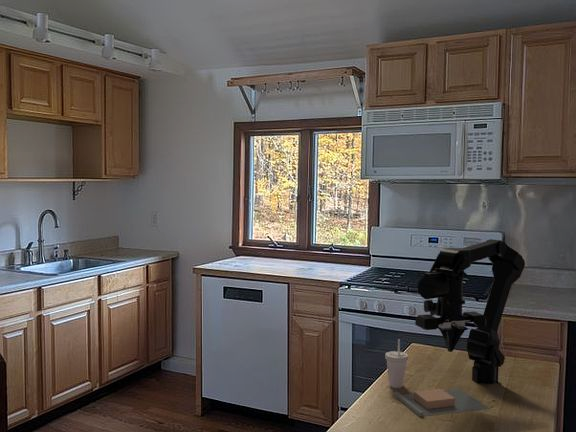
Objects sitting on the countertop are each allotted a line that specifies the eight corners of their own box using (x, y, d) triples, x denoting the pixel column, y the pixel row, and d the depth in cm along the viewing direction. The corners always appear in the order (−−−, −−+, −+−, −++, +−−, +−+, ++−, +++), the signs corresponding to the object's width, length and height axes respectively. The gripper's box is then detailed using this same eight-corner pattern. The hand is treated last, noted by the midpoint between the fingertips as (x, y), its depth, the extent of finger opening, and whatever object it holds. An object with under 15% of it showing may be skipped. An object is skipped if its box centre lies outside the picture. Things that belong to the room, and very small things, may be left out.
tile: (440, 388, 155) (413, 391, 152) (455, 398, 148) (427, 401, 146) (440, 396, 155) (413, 399, 153) (454, 406, 148) (426, 409, 146)
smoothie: (407, 393, 159) (408, 343, 158) (384, 391, 160) (385, 341, 159) (407, 384, 165) (408, 336, 164) (384, 383, 167) (385, 335, 166)
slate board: (459, 391, 160) (459, 385, 160) (490, 411, 147) (490, 404, 147) (394, 398, 155) (394, 392, 155) (419, 419, 142) (419, 412, 141)
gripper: (465, 287, 167) (463, 340, 168) (406, 290, 162) (405, 345, 163) (488, 295, 156) (486, 352, 157) (426, 299, 151) (425, 357, 152)
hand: (450, 351), depth 157 cm, fingers closed
